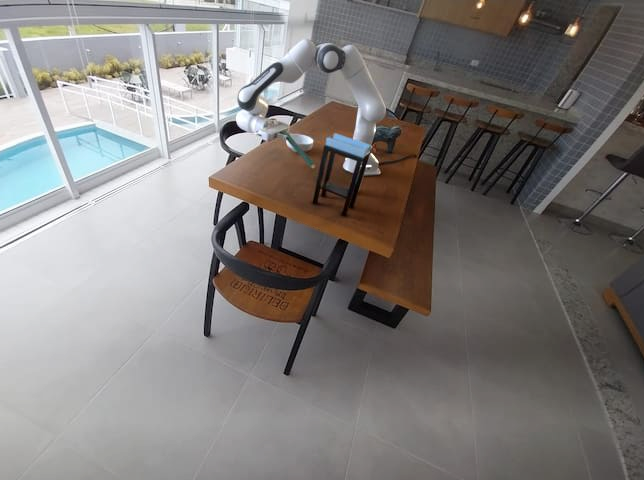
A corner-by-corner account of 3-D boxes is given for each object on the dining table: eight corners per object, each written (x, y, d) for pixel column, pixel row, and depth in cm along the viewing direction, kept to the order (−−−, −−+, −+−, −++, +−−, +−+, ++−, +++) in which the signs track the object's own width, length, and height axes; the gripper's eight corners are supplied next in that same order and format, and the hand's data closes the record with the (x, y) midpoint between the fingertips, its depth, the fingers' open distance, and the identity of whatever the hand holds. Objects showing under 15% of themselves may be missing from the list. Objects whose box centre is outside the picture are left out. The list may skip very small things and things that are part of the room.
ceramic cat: (393, 151, 210) (404, 121, 197) (394, 155, 206) (405, 124, 192) (365, 146, 210) (374, 115, 197) (365, 149, 205) (375, 118, 192)
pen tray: (325, 144, 126) (327, 137, 124) (333, 140, 131) (334, 133, 129) (363, 157, 121) (365, 150, 119) (369, 152, 126) (371, 145, 124)
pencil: (280, 132, 148) (282, 130, 147) (283, 131, 149) (284, 129, 148) (313, 170, 150) (315, 168, 149) (315, 169, 151) (317, 167, 150)
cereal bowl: (309, 158, 182) (311, 146, 177) (282, 152, 182) (283, 140, 178) (313, 148, 194) (315, 136, 189) (288, 142, 195) (289, 131, 190)
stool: (312, 203, 143) (323, 145, 125) (322, 194, 150) (334, 139, 132) (345, 216, 138) (361, 159, 120) (353, 207, 146) (370, 151, 128)
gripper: (252, 125, 143) (277, 134, 139) (276, 117, 157) (299, 125, 153) (252, 139, 147) (276, 148, 143) (275, 130, 161) (297, 138, 157)
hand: (288, 136), depth 148 cm, fingers closed on pencil, 2 cm apart
